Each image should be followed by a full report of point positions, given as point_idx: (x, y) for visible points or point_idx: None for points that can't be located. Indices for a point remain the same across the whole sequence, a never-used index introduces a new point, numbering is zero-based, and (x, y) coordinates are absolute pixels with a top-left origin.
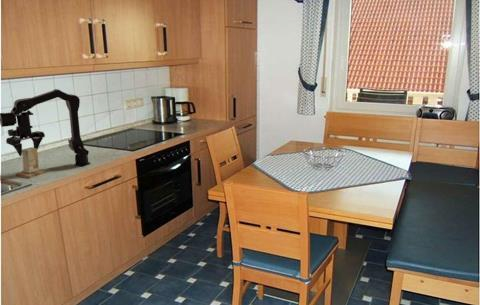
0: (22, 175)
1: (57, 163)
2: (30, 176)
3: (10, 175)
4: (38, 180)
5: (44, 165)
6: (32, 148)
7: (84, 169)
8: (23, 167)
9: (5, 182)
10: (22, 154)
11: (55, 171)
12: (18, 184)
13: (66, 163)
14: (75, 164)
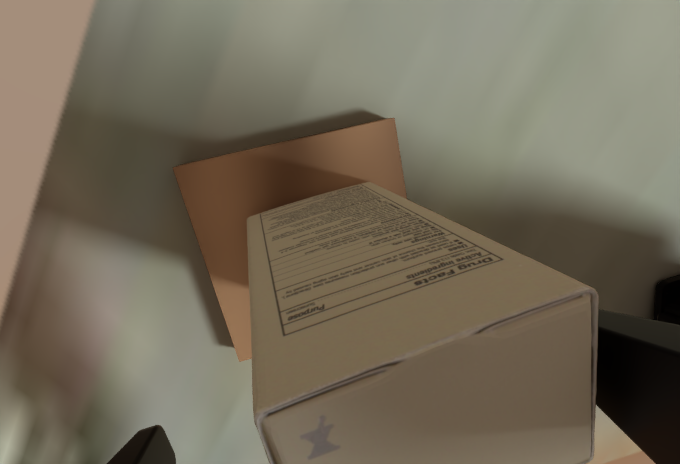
0: (208, 265)
1: (647, 97)
2: (250, 353)
3: (131, 97)
4: (263, 450)
5: (550, 47)
6: (535, 419)
7: (607, 428)
8: (247, 237)
9: (3, 307)
10: (252, 335)
11: None
12: (91, 443)
13: (675, 172)
14: (665, 299)
